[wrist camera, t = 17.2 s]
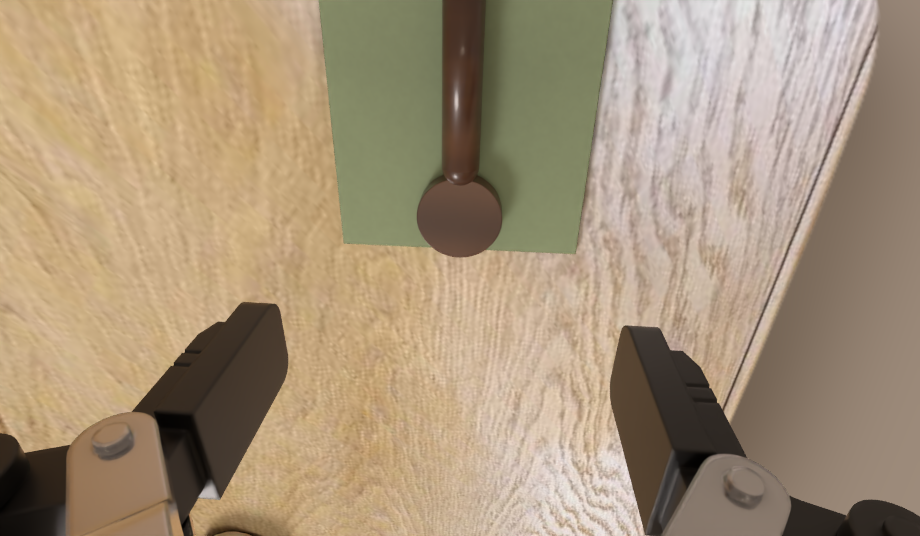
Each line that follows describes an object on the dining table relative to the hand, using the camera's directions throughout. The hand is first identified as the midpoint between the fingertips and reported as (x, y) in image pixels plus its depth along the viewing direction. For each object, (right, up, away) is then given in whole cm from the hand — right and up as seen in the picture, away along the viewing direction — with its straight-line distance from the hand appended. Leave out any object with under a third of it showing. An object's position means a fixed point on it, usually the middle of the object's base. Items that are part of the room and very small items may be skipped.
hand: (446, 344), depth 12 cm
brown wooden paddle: (0, +11, +14) cm, 18 cm away
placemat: (0, +11, +15) cm, 18 cm away
